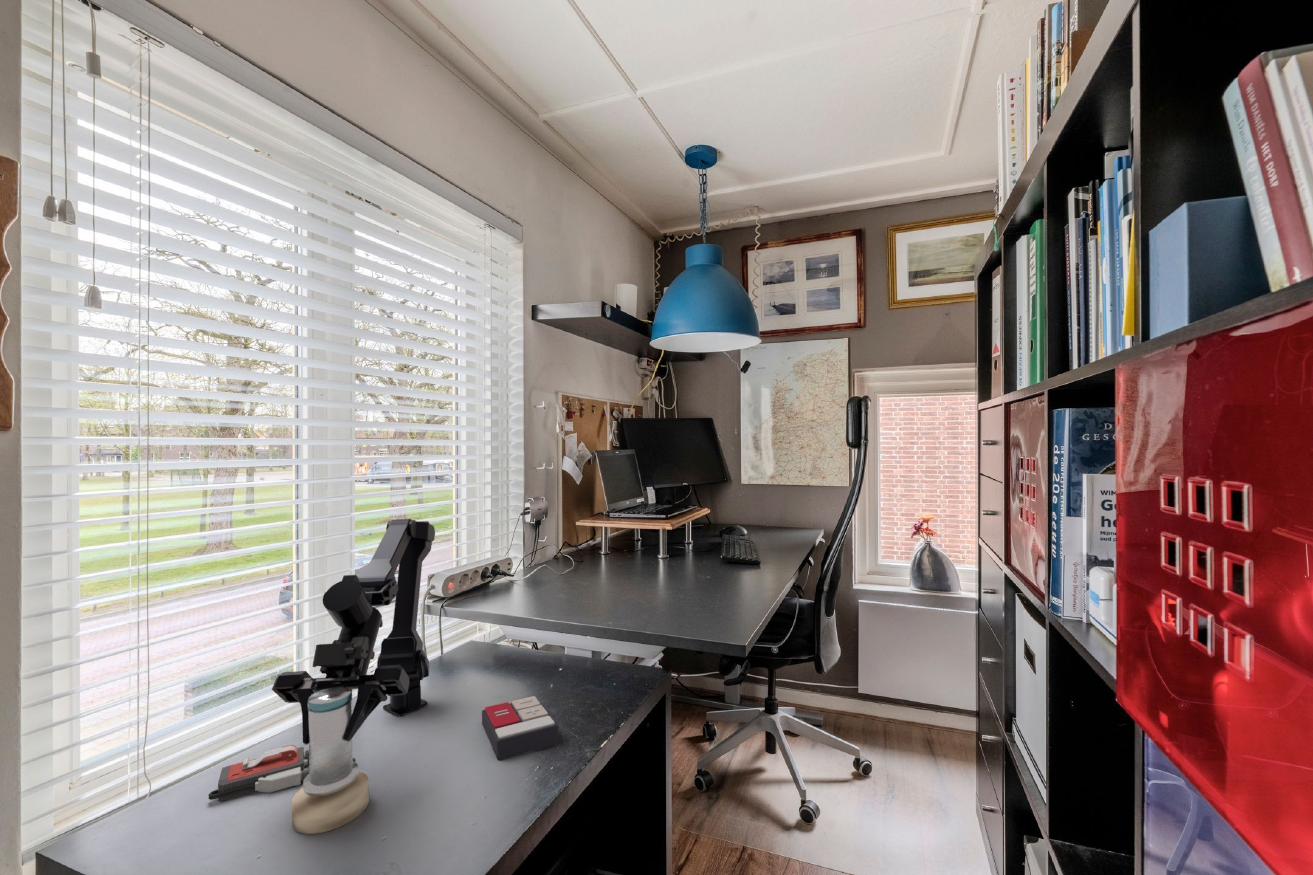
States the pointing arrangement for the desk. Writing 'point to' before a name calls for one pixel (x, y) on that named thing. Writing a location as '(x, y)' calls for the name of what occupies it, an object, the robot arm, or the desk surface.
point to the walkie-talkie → (263, 773)
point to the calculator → (519, 727)
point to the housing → (329, 742)
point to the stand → (330, 807)
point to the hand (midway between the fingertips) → (326, 741)
